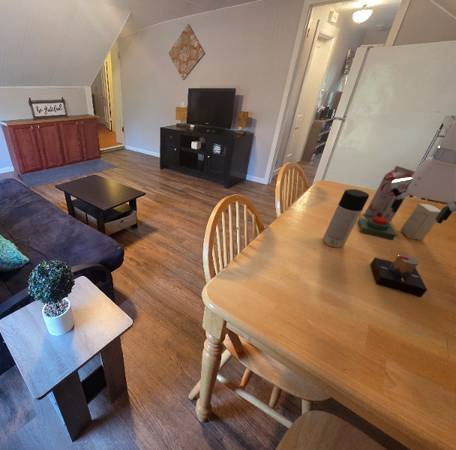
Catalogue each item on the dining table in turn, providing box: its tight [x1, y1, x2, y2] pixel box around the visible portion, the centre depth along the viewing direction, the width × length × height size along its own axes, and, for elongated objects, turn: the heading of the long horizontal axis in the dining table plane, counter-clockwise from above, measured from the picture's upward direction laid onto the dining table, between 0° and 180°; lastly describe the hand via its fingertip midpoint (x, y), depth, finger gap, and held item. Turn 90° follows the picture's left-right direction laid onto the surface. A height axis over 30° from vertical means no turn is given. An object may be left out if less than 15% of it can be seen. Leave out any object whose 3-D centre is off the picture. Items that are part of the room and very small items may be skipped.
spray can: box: [322, 188, 370, 248], centre depth 84 cm, size 7×7×20 cm
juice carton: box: [363, 165, 416, 223], centre depth 99 cm, size 7×7×22 cm
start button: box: [373, 217, 387, 225], centre depth 94 cm, size 4×4×2 cm
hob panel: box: [369, 257, 428, 298], centre depth 72 cm, size 10×10×3 cm
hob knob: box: [389, 253, 420, 277], centre depth 70 cm, size 4×4×5 cm
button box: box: [357, 217, 397, 241], centre depth 95 cm, size 10×9×4 cm
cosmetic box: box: [400, 203, 442, 241], centre depth 90 cm, size 6×4×12 cm
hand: (414, 215), depth 70 cm, fingers open, 9 cm apart
